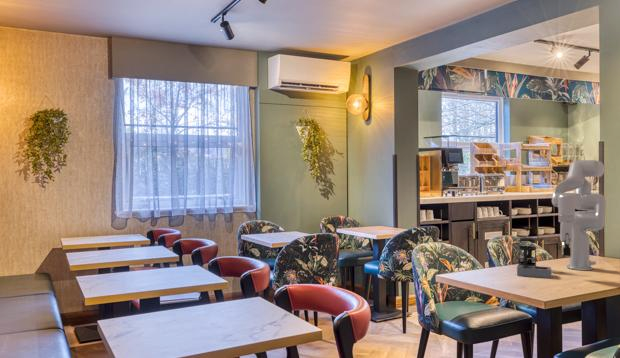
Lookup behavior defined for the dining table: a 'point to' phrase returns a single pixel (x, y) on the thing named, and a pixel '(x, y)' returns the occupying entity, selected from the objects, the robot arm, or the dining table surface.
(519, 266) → the block
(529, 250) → the french press
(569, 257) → the brass fitting
